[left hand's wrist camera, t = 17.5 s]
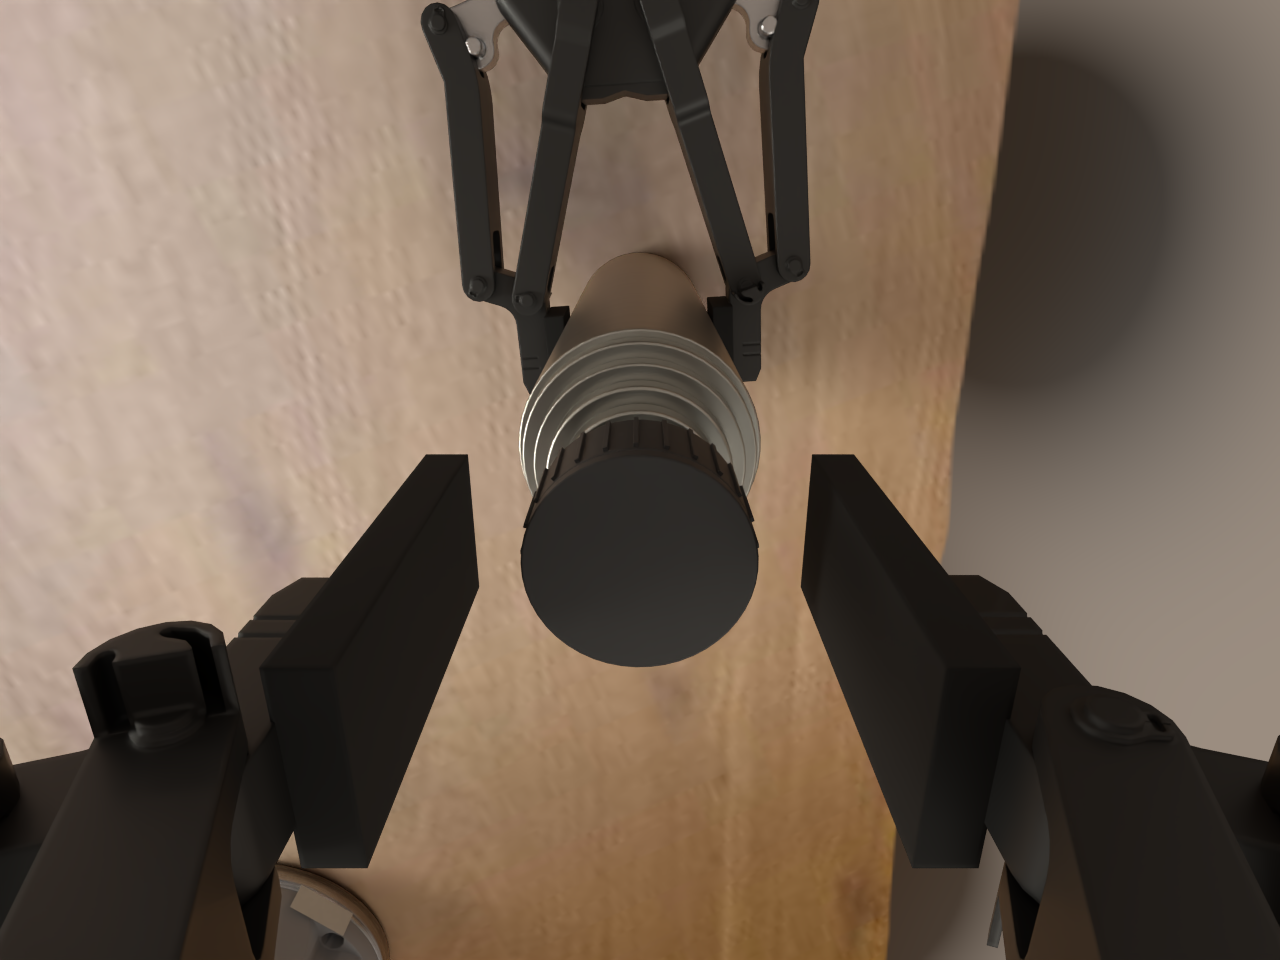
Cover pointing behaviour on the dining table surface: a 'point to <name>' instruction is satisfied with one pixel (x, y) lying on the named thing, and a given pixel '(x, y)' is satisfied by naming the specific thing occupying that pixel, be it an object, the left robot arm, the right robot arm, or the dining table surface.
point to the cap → (639, 545)
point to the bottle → (639, 369)
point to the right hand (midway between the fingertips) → (647, 459)
